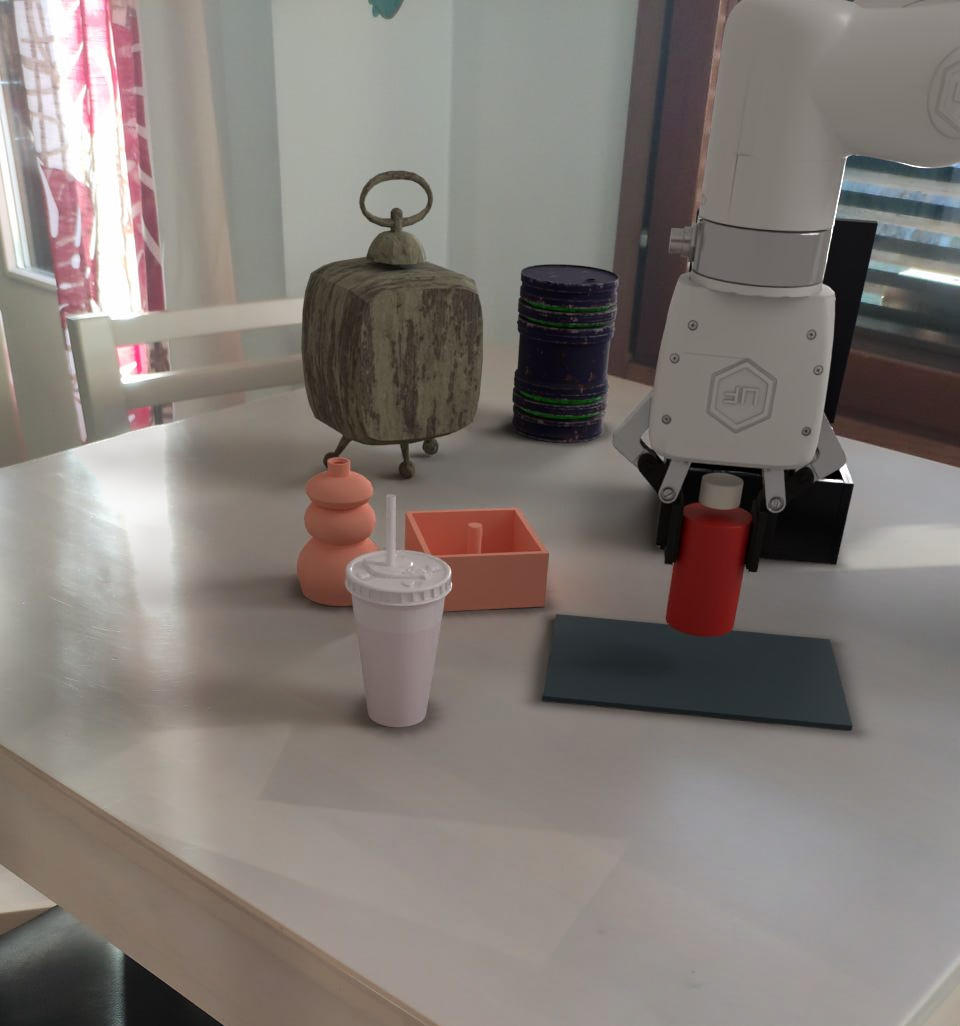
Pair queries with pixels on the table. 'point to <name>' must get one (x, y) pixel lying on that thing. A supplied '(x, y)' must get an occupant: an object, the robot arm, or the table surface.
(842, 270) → the lid
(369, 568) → the smoothie
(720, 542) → the ketchup
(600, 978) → the table surface
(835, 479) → the box
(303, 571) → the pottery
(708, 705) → the mat
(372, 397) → the tabletop clock
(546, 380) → the dark purple barrel
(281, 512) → the table surface
